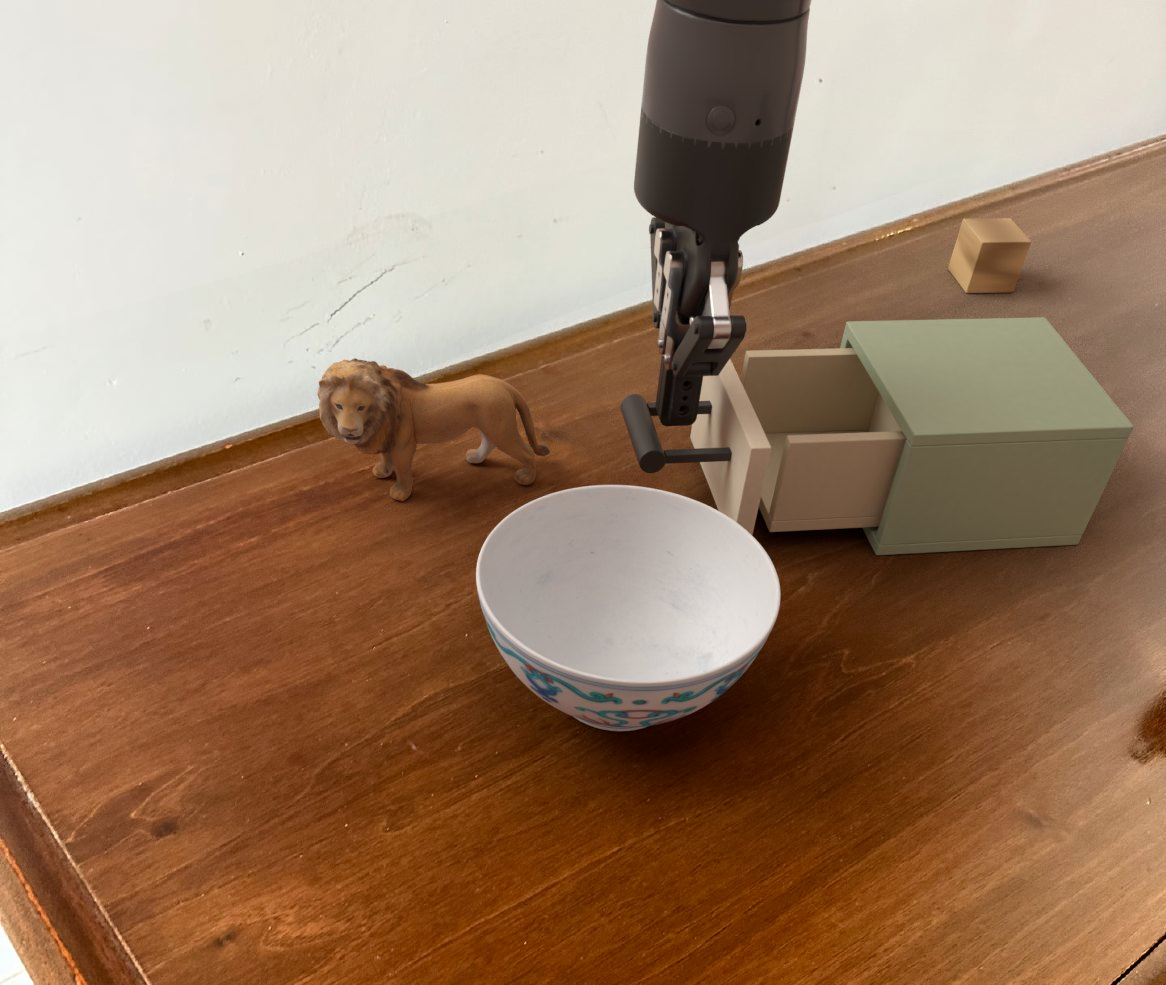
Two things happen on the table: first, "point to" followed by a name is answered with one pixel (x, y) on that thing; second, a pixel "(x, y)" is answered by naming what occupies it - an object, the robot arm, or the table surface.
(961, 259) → the birch block
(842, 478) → the drawer
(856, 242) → the table surface
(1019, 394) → the cabinet
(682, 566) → the chinaware
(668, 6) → the robot arm
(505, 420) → the lion figurine
